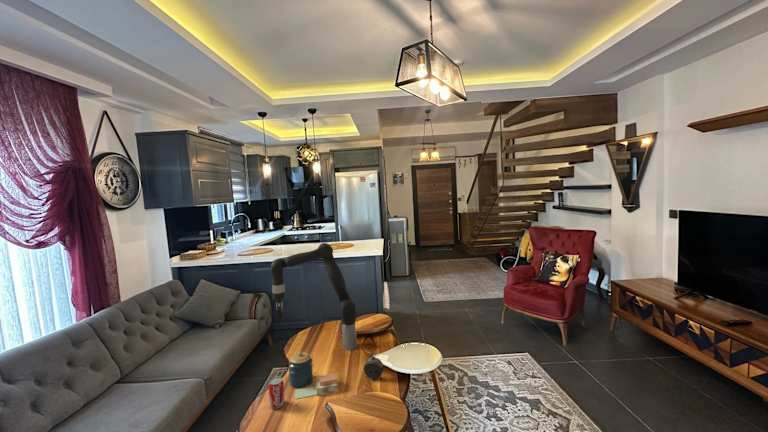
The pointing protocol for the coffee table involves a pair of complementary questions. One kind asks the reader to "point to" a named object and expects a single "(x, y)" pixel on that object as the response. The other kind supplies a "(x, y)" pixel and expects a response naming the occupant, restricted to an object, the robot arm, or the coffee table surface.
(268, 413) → the coffee table surface
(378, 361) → the alarm clock
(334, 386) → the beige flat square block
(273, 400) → the soda can
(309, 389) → the mat
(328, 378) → the pink block
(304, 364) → the canister
